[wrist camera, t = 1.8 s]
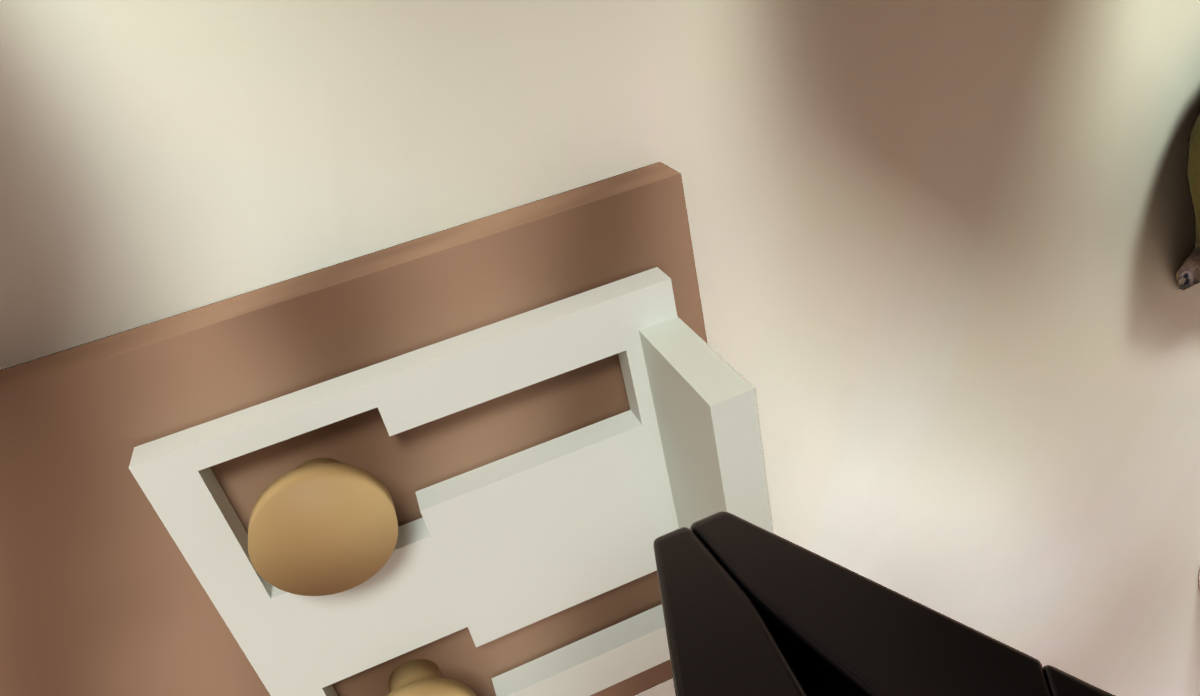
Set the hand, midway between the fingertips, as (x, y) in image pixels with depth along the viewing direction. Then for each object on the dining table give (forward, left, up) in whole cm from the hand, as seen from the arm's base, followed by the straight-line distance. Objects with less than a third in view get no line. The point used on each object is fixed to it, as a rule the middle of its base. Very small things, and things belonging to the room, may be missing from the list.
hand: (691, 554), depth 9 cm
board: (+5, +8, -12) cm, 15 cm away
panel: (+2, +8, -11) cm, 13 cm away
